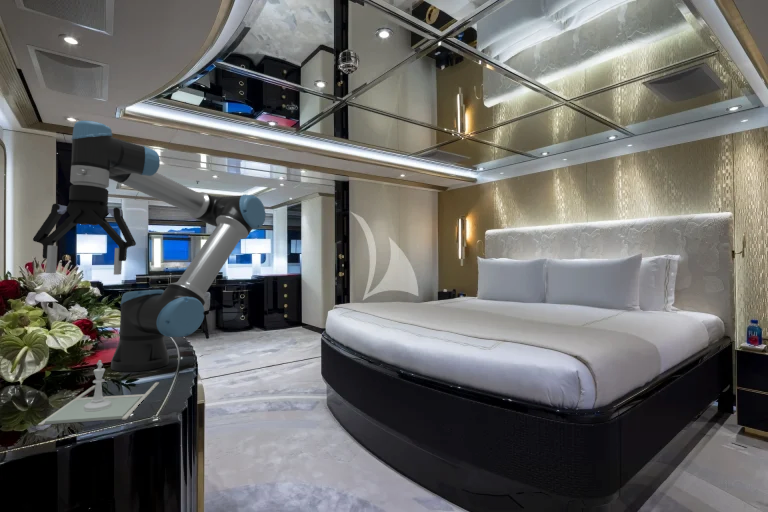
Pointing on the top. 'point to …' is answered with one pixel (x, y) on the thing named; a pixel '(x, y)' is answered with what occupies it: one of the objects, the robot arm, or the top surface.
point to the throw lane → (118, 410)
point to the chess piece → (98, 392)
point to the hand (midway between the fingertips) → (84, 274)
